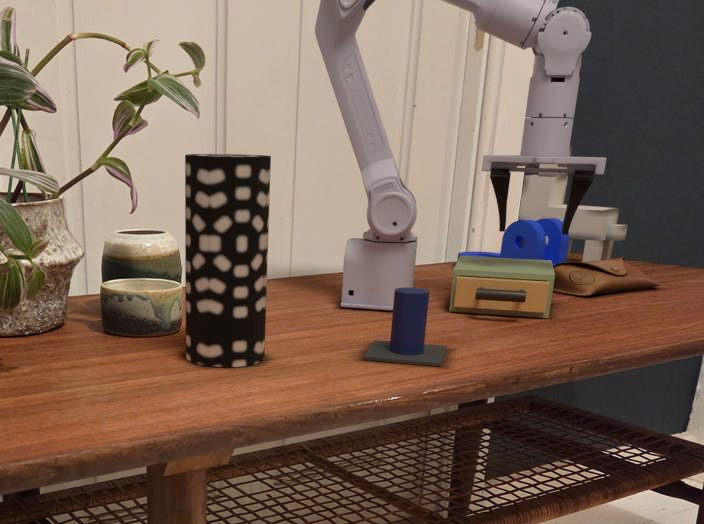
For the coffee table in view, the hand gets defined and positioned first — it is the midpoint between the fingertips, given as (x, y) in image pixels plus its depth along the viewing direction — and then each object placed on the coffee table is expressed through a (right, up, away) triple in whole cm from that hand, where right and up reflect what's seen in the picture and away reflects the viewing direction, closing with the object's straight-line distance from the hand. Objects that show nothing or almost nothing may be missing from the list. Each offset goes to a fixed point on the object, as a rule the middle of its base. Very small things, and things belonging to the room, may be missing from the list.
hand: (533, 232), depth 114 cm
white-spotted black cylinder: (-40, -19, -21) cm, 49 cm away
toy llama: (+23, +7, +46) cm, 52 cm away
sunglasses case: (+18, -3, +22) cm, 29 cm away
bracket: (+8, +4, +38) cm, 40 cm away
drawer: (-3, -8, +5) cm, 10 cm away
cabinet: (-2, -8, +8) cm, 12 cm away
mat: (-20, -18, -19) cm, 33 cm away
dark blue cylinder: (-20, -18, -19) cm, 33 cm away
